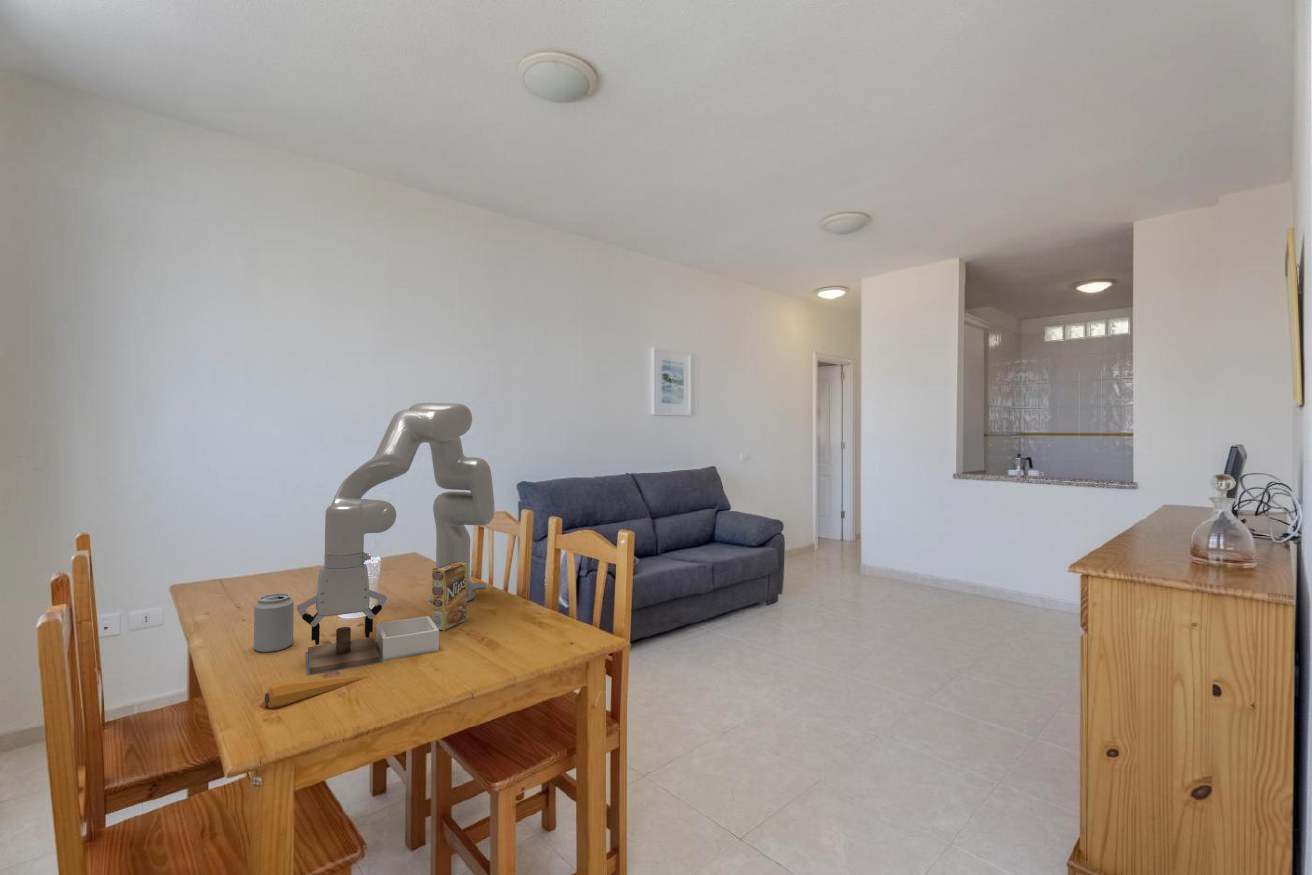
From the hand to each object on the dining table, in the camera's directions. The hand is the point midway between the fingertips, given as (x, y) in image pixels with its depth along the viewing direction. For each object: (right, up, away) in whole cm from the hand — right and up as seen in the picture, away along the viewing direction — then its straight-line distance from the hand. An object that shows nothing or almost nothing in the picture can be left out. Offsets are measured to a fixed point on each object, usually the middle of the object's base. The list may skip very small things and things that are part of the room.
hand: (342, 639), depth 128 cm
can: (-18, -4, +5) cm, 20 cm away
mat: (0, -4, 0) cm, 4 cm away
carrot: (+5, -5, -15) cm, 17 cm away
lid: (0, -4, 0) cm, 4 cm away
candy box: (+15, -5, +24) cm, 28 cm away
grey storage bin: (+11, -5, +7) cm, 14 cm away
